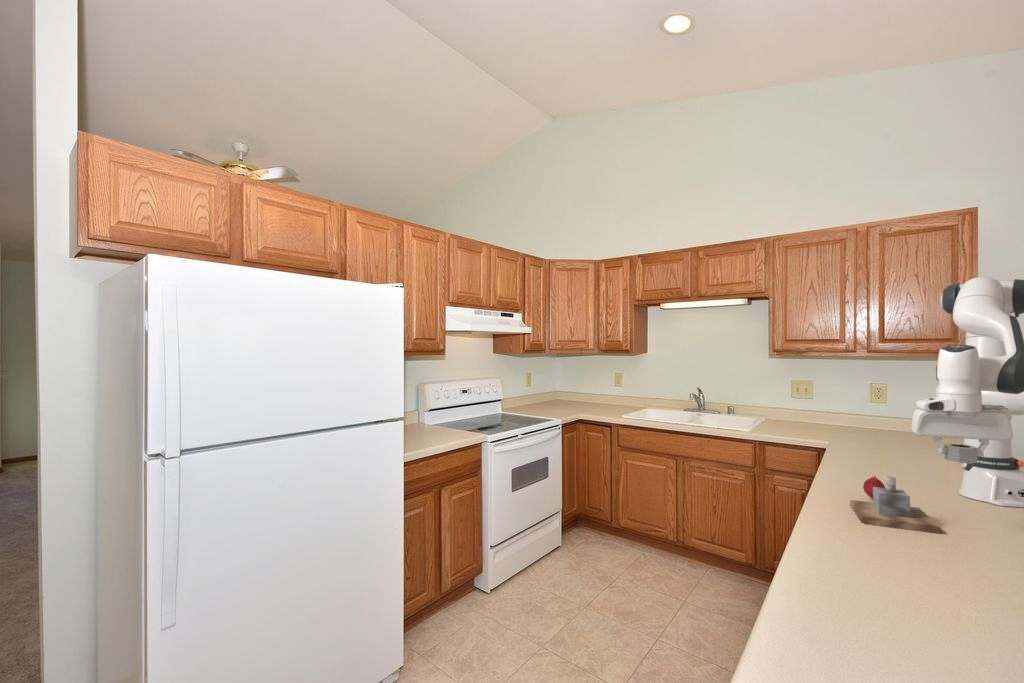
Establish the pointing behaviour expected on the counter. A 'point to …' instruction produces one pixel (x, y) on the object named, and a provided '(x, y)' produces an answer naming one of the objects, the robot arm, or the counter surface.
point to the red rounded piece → (872, 485)
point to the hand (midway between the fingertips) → (960, 454)
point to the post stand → (893, 510)
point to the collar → (961, 453)
